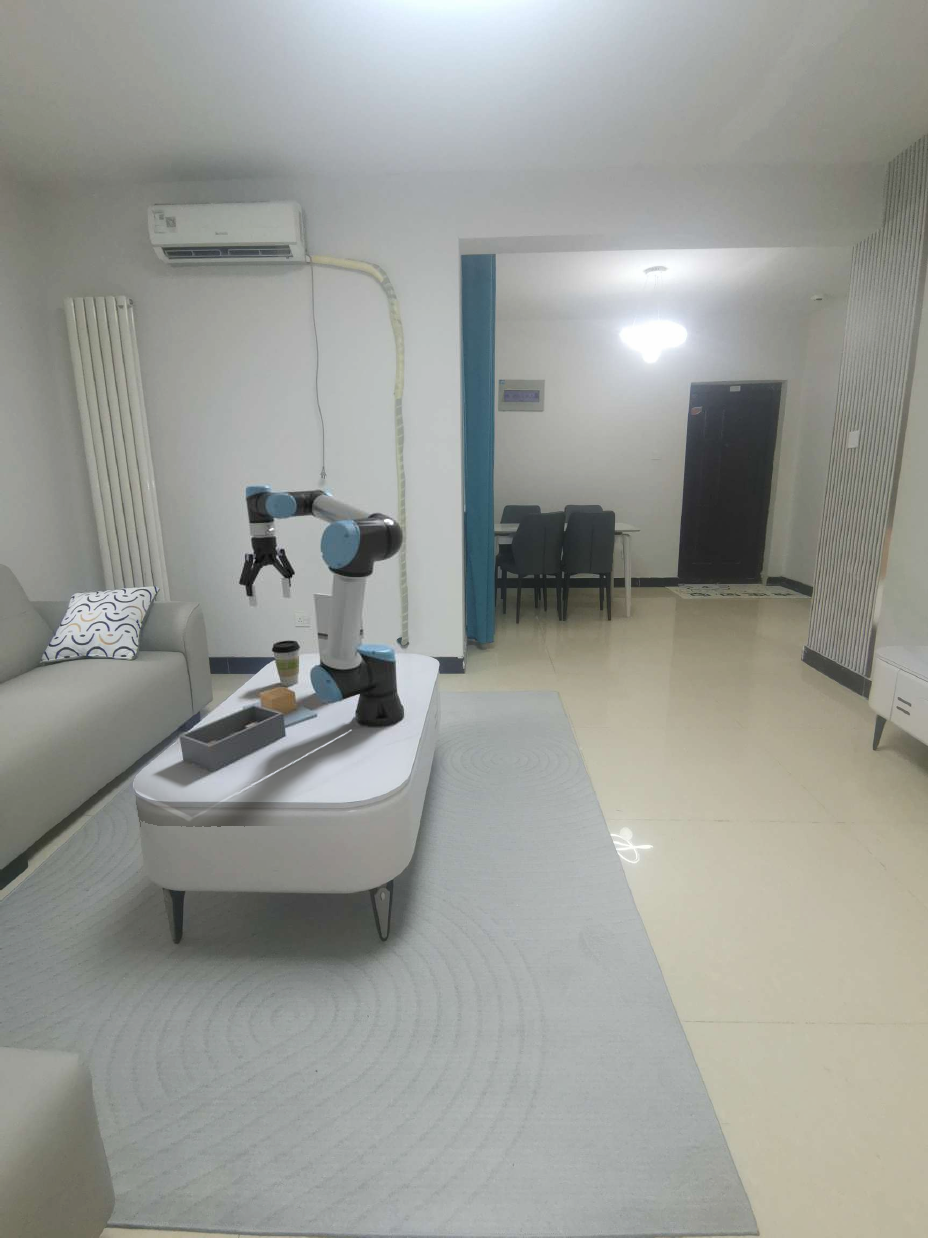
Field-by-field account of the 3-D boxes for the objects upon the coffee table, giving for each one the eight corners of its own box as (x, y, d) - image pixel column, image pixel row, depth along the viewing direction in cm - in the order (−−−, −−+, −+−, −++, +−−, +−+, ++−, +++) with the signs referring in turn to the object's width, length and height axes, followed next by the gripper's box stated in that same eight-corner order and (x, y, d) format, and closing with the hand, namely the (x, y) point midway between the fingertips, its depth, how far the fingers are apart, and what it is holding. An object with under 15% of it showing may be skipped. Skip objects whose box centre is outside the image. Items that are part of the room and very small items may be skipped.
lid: (279, 700, 201) (277, 678, 199) (317, 719, 185) (315, 696, 183) (243, 712, 192) (240, 689, 190) (279, 733, 176) (277, 708, 174)
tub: (286, 738, 171) (283, 713, 169) (213, 775, 152) (209, 746, 150) (256, 729, 178) (253, 704, 176) (183, 763, 159) (179, 735, 157)
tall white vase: (367, 685, 212) (360, 590, 203) (346, 695, 203) (338, 596, 194) (343, 680, 218) (336, 587, 209) (322, 689, 209) (313, 593, 200)
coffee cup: (278, 689, 210) (273, 649, 207) (273, 681, 219) (269, 642, 215) (306, 684, 215) (302, 645, 211) (300, 676, 223) (296, 638, 220)
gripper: (237, 541, 173) (246, 611, 178) (301, 532, 193) (307, 595, 199) (221, 540, 177) (230, 608, 182) (286, 531, 197) (292, 593, 203)
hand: (270, 601), depth 191 cm, fingers open, 13 cm apart
